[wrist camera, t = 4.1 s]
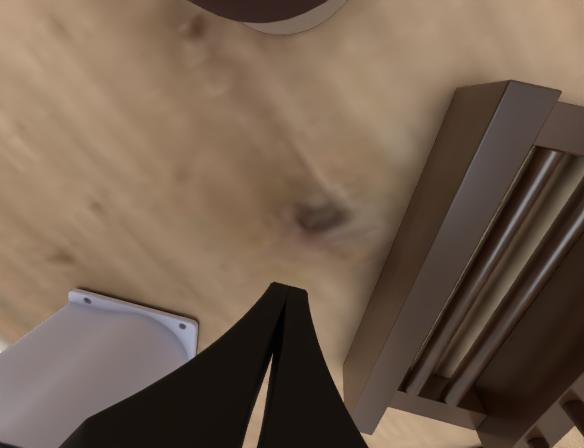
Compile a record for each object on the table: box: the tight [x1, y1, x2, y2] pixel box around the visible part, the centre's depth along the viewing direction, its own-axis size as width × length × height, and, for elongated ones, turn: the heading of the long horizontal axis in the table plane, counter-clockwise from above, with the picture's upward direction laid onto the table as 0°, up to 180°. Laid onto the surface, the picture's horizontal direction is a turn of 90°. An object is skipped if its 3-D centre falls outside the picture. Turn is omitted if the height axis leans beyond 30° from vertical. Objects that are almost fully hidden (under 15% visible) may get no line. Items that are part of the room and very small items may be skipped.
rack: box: [343, 80, 584, 448], centre depth 12 cm, size 10×18×7 cm, turn 168°
